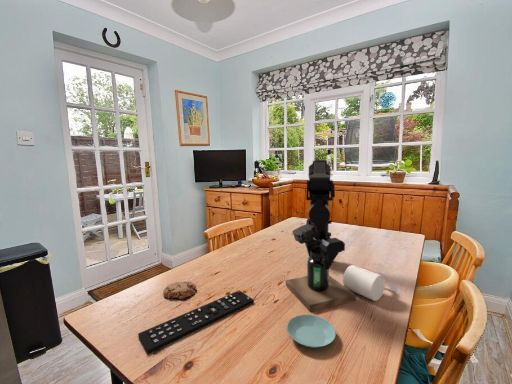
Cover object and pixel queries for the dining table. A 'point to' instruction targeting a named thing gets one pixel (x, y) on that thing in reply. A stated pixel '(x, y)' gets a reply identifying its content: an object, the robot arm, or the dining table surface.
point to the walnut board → (319, 293)
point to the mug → (364, 282)
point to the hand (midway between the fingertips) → (318, 263)
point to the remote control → (192, 321)
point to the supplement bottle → (317, 271)
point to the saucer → (311, 331)
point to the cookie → (179, 290)
